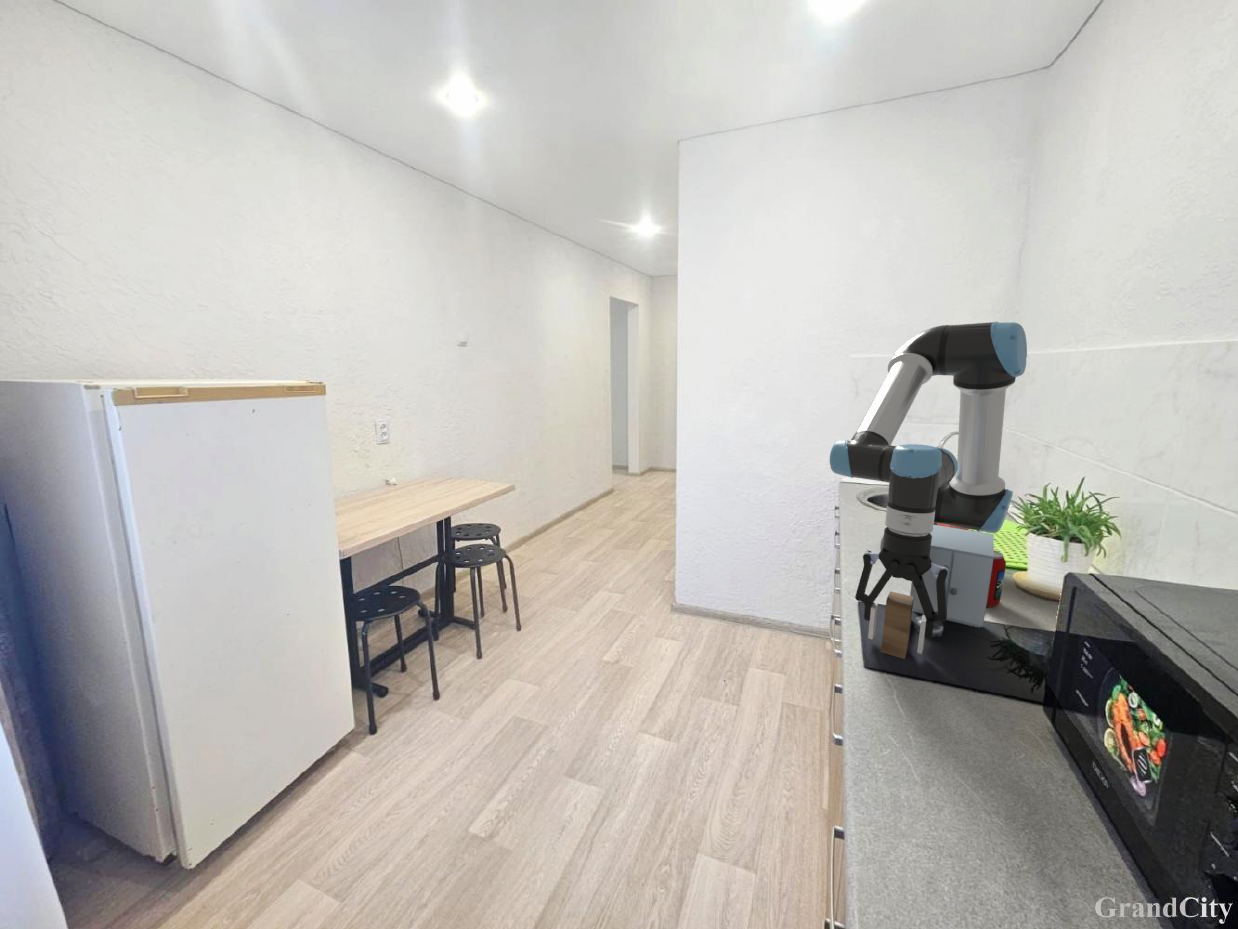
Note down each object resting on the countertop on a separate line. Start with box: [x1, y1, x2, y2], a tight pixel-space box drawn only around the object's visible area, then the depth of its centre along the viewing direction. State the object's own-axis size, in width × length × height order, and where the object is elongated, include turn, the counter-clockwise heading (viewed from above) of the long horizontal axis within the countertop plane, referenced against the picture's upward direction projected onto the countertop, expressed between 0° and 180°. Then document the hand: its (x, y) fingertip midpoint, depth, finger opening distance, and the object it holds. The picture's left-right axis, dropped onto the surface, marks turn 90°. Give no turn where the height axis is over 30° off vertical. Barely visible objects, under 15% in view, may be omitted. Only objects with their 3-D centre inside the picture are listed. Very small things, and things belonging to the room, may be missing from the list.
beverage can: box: [986, 549, 1007, 608], centre depth 110 cm, size 7×7×12 cm
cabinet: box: [909, 524, 995, 629], centre depth 98 cm, size 15×12×20 cm
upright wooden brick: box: [880, 591, 914, 660], centre depth 97 cm, size 17×4×11 cm, turn 143°
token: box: [913, 615, 945, 638], centre depth 100 cm, size 5×5×2 cm
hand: (895, 642), depth 93 cm, fingers open, 8 cm apart
